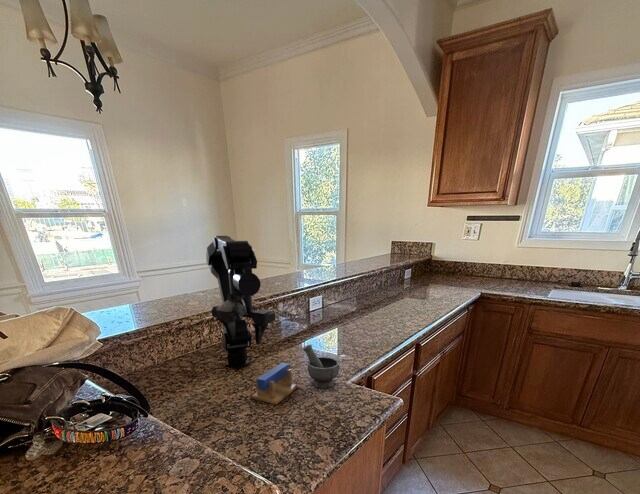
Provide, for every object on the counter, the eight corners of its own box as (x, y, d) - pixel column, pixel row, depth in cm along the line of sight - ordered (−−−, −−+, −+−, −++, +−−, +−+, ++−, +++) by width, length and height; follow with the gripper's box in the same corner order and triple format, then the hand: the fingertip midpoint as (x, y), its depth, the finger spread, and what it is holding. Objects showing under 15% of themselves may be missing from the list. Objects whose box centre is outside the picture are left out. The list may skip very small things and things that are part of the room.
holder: (274, 382, 108) (273, 364, 105) (297, 387, 105) (296, 369, 102) (251, 398, 99) (250, 379, 96) (276, 404, 96) (275, 384, 93)
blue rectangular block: (282, 371, 106) (282, 362, 105) (289, 373, 105) (289, 363, 104) (257, 388, 95) (256, 378, 94) (265, 390, 94) (264, 380, 93)
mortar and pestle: (342, 379, 111) (343, 343, 106) (334, 392, 103) (335, 353, 98) (308, 374, 114) (308, 339, 108) (298, 386, 106) (297, 349, 100)
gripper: (194, 290, 96) (202, 345, 102) (251, 297, 89) (255, 355, 95) (221, 284, 105) (227, 334, 112) (274, 290, 98) (277, 343, 105)
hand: (245, 342), depth 105 cm, fingers open, 9 cm apart
